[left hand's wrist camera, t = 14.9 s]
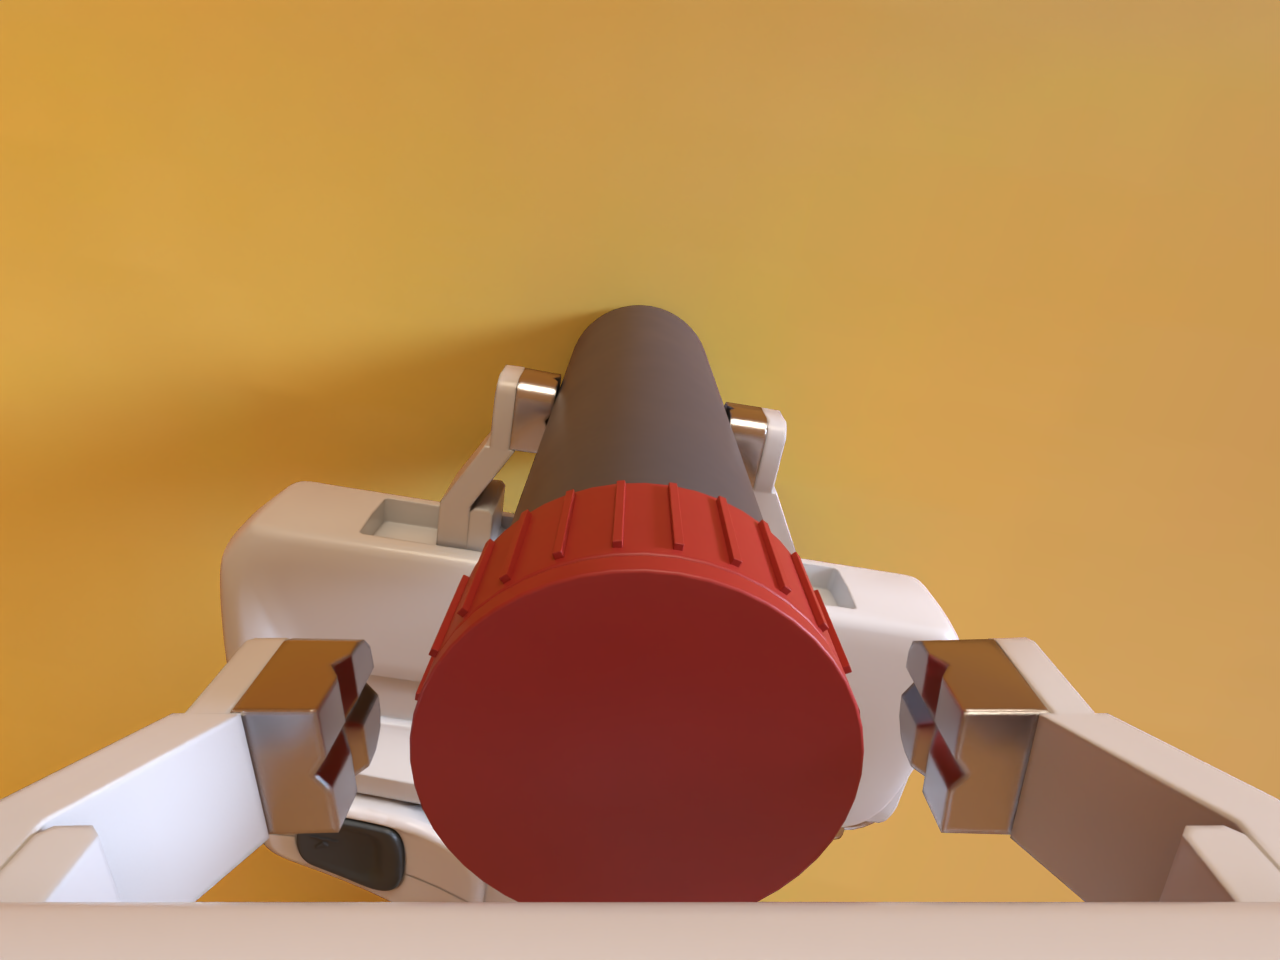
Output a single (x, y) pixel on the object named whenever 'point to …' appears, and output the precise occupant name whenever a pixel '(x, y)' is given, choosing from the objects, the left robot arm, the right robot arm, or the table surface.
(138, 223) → the table surface
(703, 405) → the jar
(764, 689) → the lid
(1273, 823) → the left robot arm
